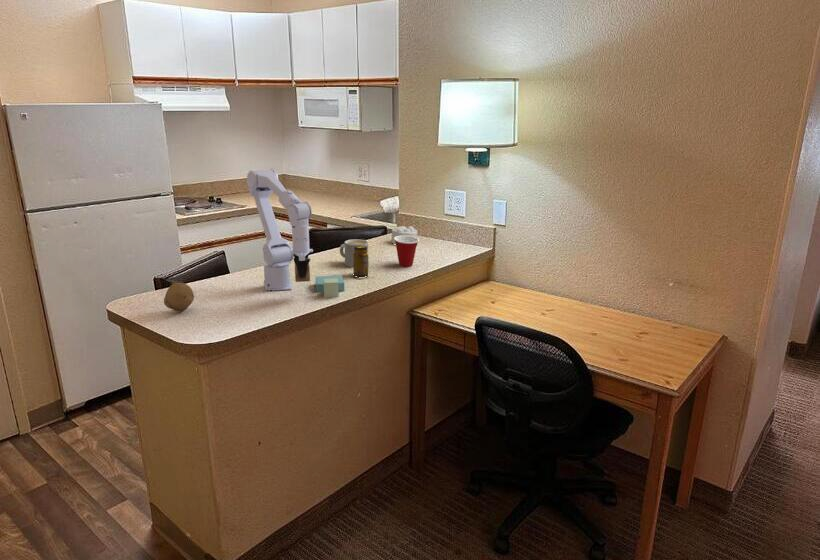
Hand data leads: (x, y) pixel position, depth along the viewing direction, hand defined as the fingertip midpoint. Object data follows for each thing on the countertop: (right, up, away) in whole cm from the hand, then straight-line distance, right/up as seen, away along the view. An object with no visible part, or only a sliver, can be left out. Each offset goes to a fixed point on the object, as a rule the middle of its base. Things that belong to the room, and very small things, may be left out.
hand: (302, 275), depth 204 cm
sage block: (+10, -7, +5) cm, 13 cm away
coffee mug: (+14, +5, +45) cm, 48 cm away
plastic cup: (+37, +4, +44) cm, 58 cm away
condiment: (+19, 0, +29) cm, 34 cm away
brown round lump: (-38, -12, -13) cm, 42 cm away
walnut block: (0, -1, +1) cm, 2 cm away
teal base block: (+8, -5, +14) cm, 17 cm away
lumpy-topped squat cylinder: (+36, +16, +80) cm, 89 cm away
